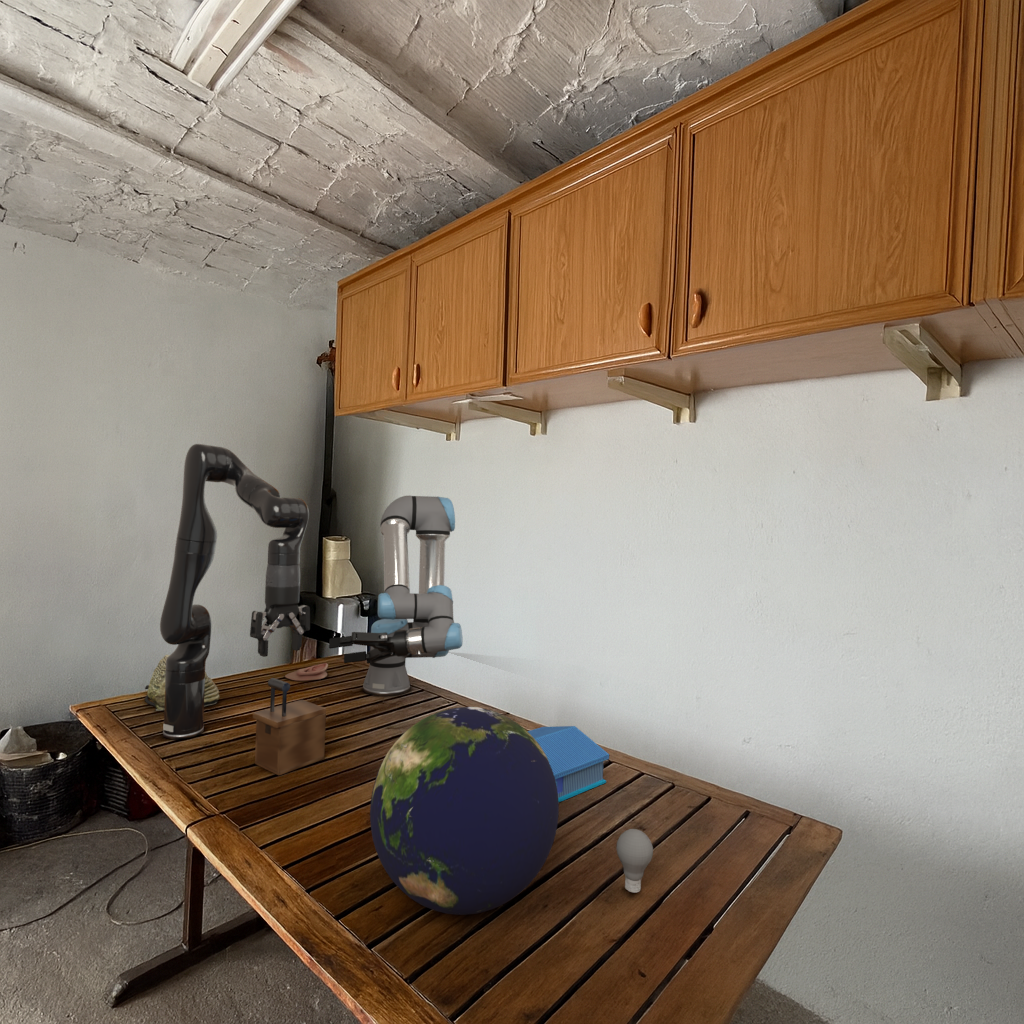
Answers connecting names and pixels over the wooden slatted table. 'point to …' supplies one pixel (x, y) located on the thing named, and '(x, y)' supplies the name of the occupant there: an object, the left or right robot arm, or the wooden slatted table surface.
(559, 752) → the model building
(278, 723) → the lid
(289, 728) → the chest
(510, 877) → the globe
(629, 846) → the light bulb
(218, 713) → the wooden slatted table surface
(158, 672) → the fossil
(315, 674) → the anatomical model
